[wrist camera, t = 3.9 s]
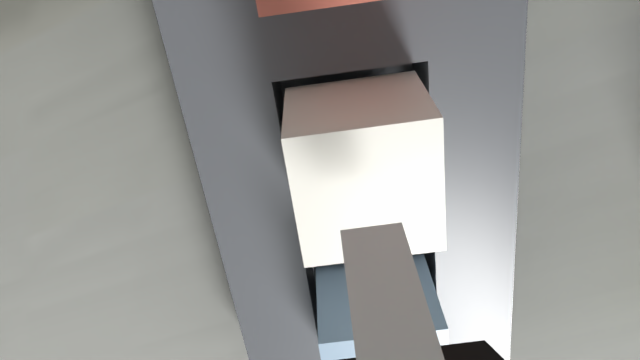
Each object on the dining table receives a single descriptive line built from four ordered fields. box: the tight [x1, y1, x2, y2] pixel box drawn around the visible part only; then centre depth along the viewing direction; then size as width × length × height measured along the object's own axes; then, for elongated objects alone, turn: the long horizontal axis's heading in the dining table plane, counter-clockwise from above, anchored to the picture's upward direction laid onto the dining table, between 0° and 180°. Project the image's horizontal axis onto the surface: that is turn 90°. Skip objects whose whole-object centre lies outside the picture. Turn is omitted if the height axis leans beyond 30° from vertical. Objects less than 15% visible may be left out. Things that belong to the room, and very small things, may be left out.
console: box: [152, 0, 528, 360], centre depth 22 cm, size 28×12×4 cm, turn 7°
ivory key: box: [281, 70, 447, 268], centre depth 18 cm, size 5×5×4 cm
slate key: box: [316, 254, 449, 360], centre depth 22 cm, size 5×5×4 cm
